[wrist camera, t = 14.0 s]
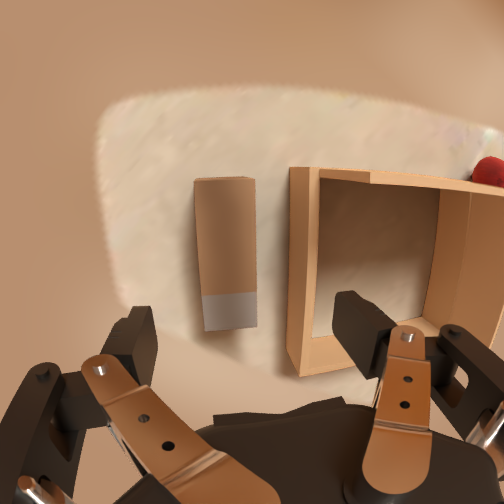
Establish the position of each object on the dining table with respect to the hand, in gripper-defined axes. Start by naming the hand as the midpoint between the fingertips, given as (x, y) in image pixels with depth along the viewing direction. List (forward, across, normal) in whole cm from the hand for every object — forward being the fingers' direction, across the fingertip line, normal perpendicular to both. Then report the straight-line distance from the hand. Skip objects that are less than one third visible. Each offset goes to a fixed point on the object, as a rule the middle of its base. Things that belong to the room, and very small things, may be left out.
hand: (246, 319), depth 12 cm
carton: (+15, -16, +3) cm, 22 cm away
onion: (+15, -32, -7) cm, 36 cm away
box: (+14, 0, 0) cm, 15 cm away
